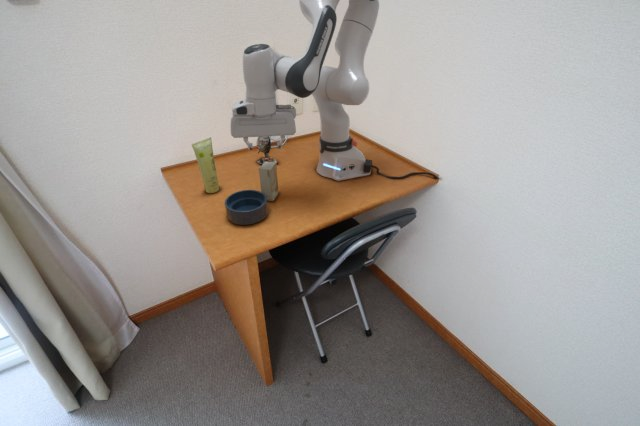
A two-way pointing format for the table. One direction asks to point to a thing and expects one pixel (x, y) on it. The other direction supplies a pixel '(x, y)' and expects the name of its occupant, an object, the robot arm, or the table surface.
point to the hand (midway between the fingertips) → (265, 148)
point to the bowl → (246, 207)
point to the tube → (206, 164)
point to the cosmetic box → (269, 180)
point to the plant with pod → (265, 149)
